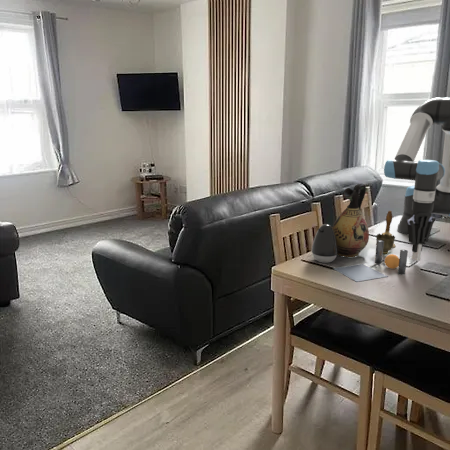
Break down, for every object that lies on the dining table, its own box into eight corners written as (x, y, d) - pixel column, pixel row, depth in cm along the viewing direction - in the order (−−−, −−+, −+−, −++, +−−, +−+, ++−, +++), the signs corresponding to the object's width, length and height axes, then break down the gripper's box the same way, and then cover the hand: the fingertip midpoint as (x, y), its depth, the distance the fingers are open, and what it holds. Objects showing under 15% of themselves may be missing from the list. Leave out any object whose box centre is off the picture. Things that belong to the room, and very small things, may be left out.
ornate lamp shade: (376, 249, 194) (378, 232, 192) (394, 252, 190) (396, 234, 188) (372, 254, 188) (374, 236, 185) (391, 257, 184) (393, 239, 182)
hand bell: (392, 243, 204) (396, 209, 200) (397, 248, 196) (401, 213, 192) (374, 242, 205) (377, 208, 200) (378, 248, 197) (381, 212, 192)
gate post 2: (401, 272, 168) (404, 249, 166) (406, 274, 166) (409, 251, 164) (396, 272, 167) (398, 250, 165) (401, 275, 165) (403, 252, 163)
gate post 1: (378, 261, 179) (380, 239, 177) (383, 263, 177) (385, 241, 175) (373, 262, 179) (375, 240, 176) (377, 264, 176) (380, 242, 174)
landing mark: (362, 264, 176) (362, 263, 176) (387, 276, 163) (387, 276, 163) (333, 268, 171) (333, 268, 171) (356, 282, 158) (356, 281, 158)
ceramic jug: (352, 263, 177) (359, 188, 169) (321, 253, 189) (326, 183, 181) (376, 254, 188) (384, 184, 180) (345, 245, 199) (351, 179, 191)
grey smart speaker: (305, 260, 179) (307, 224, 175) (320, 255, 186) (322, 219, 183) (327, 267, 172) (330, 229, 168) (341, 261, 179) (345, 224, 176)
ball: (384, 268, 175) (394, 259, 175) (394, 273, 170) (405, 264, 170) (379, 258, 172) (389, 249, 173) (389, 263, 167) (399, 253, 168)
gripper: (417, 204, 165) (410, 264, 171) (444, 201, 169) (435, 260, 176) (402, 200, 171) (396, 258, 177) (428, 197, 176) (421, 254, 182)
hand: (415, 259), depth 177 cm, fingers closed
